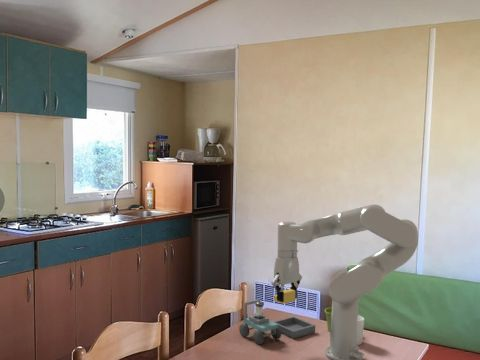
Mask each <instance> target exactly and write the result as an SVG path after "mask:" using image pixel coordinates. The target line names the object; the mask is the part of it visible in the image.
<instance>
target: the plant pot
mask: <svg viewBox="0 0 480 360" xmlns="http://www.w3.org/2000/svg"><path fill="white" fill-rule="evenodd" d="M324 312H325V313H324V314H325V316H326V326H327V327H326V328H327V331H328V332H329V333H331V313H332V307H327V308H325V309H324Z"/></svg>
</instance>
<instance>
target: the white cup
mask: <svg viewBox="0 0 480 360" xmlns="http://www.w3.org/2000/svg"><path fill="white" fill-rule="evenodd" d="M364 327H365V317H363V316H362V315H359V314H358V319H357V339H356V346H359V345H361V344H362V342H363V335H364Z"/></svg>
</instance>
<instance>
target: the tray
mask: <svg viewBox="0 0 480 360" xmlns="http://www.w3.org/2000/svg"><path fill="white" fill-rule="evenodd" d="M272 322H274V323H276V324H278V327H279V328H280V330H281V335H284V336H286V337H288V338H290V339H293V340H294V339H298V338H301V337H305V336H307V335H311V334H314V333H315V332H316V325H315V324H313V323H311V322H309V321H305V320H303V319H301V318H298V317H296V316H295V315H294V316H293V315H292V316H290V317H286V318H282V319H278V320H273V321H272Z"/></svg>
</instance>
